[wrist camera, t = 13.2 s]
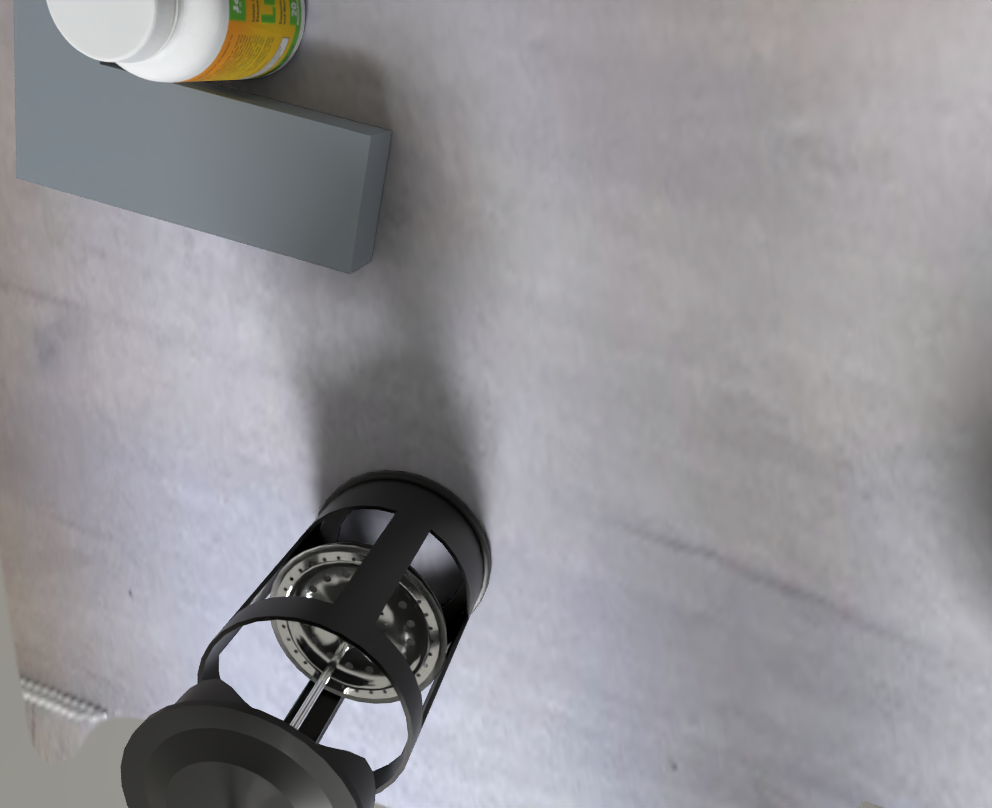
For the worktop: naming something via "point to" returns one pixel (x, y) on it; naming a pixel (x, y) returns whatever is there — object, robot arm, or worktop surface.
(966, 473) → the worktop surface
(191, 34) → the supplement bottle
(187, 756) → the french press
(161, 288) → the worktop surface
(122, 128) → the notched board
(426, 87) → the worktop surface
